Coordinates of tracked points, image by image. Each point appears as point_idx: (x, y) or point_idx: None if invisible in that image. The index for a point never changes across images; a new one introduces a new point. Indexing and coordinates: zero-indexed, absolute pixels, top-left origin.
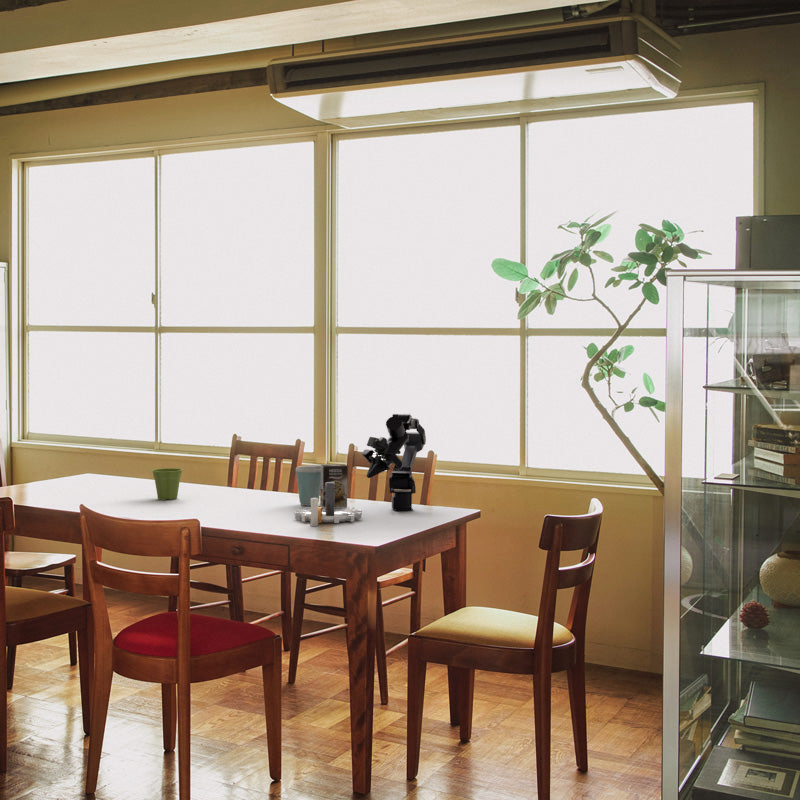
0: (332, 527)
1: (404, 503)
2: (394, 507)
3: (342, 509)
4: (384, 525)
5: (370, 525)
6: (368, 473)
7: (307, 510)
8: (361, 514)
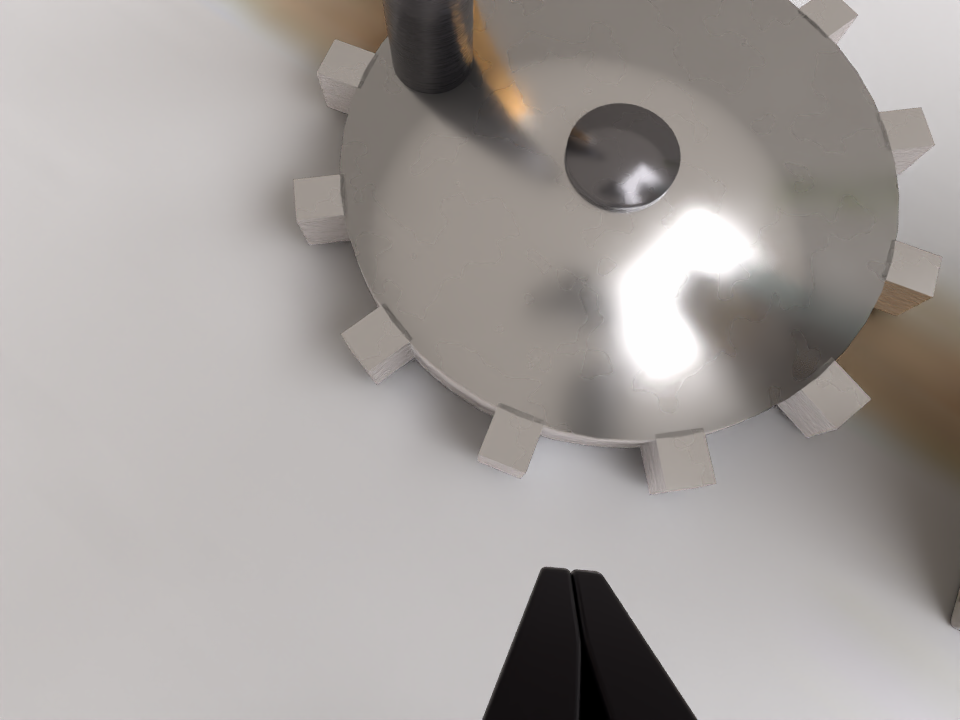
0: (264, 15)
1: None
2: None
3: (639, 324)
4: (20, 374)
5: (113, 279)
6: (579, 623)
7: (767, 53)
8: (361, 362)
